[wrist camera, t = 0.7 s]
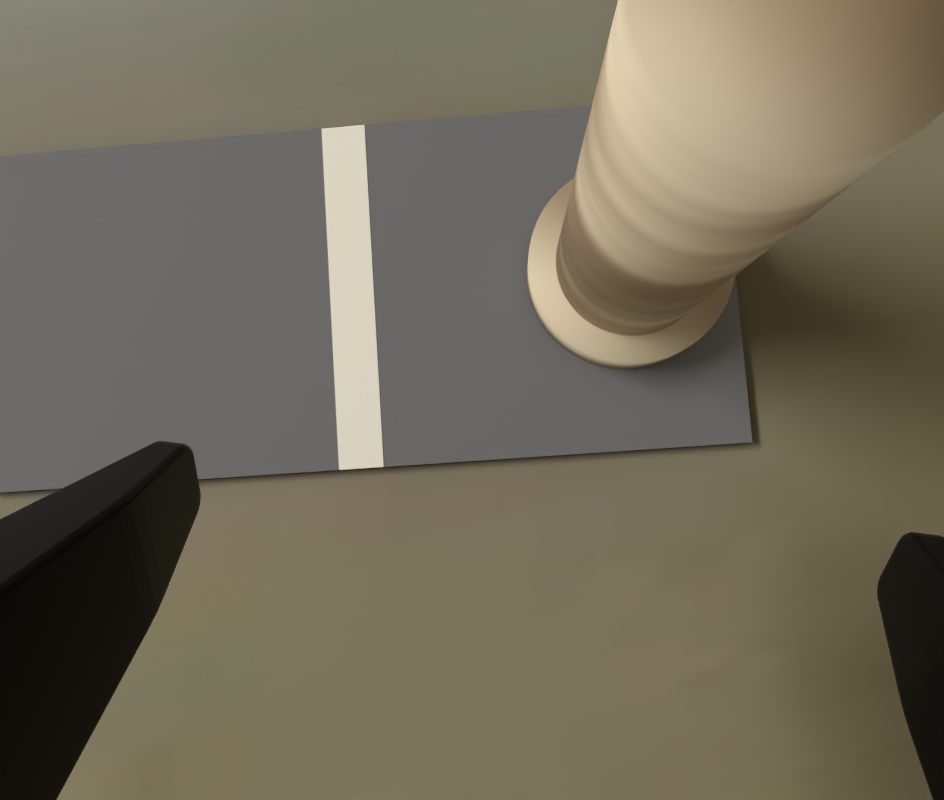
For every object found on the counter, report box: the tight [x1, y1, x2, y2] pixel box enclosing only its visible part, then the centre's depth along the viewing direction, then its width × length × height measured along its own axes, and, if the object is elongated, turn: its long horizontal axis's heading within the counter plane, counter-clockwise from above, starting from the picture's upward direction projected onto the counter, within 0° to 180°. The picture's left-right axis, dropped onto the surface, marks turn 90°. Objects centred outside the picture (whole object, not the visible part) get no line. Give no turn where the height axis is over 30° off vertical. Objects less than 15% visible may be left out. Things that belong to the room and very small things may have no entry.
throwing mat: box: [0, 106, 752, 493], centre depth 23 cm, size 24×11×1 cm, turn 94°
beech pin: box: [527, 0, 944, 369], centre depth 16 cm, size 6×6×14 cm
